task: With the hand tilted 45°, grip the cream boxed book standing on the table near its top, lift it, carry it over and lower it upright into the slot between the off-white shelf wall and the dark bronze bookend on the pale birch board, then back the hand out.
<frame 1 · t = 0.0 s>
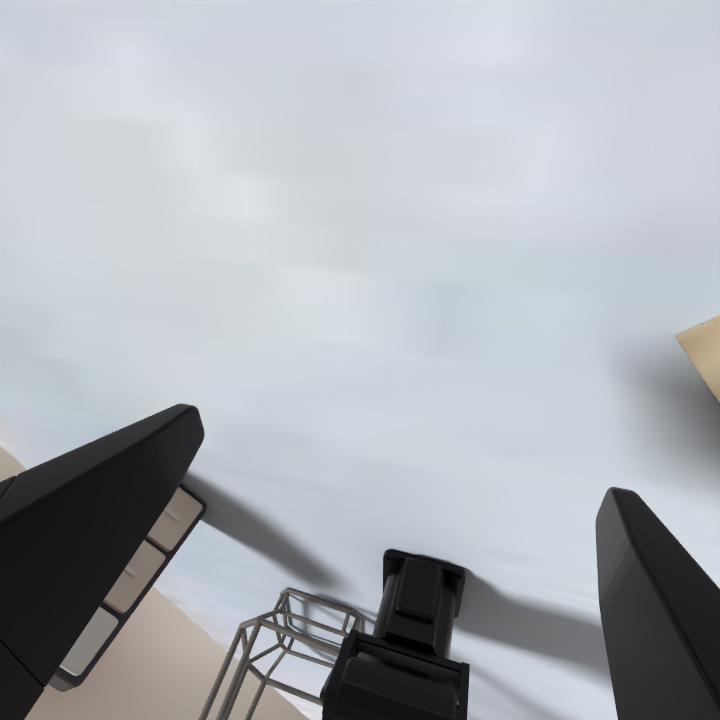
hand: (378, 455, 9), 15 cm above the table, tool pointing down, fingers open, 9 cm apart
geometric lantern: (321, 618, 46), on the table
red and beige box: (157, 474, 40), on the table
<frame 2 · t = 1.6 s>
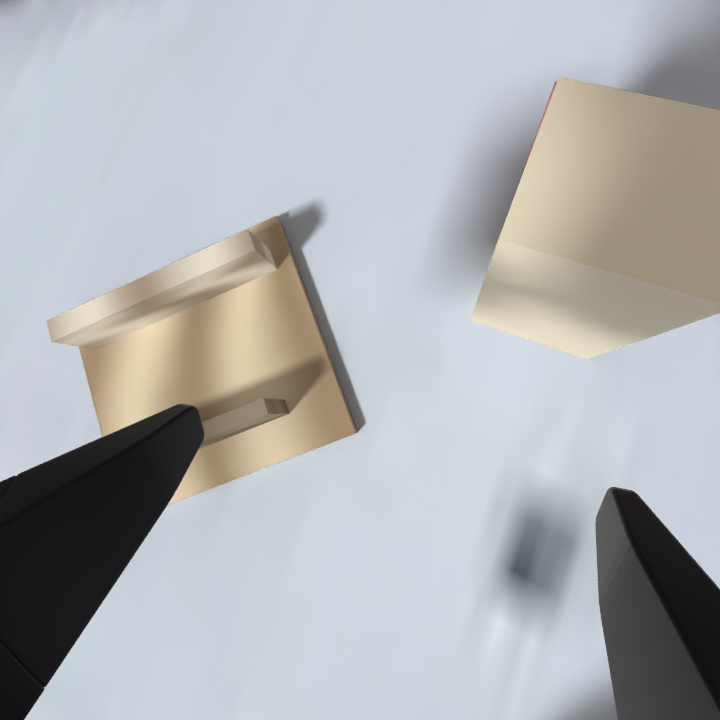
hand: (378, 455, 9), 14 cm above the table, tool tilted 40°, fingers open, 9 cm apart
shelf slot: (206, 367, 25), on the table
boxed book: (543, 293, 22), on the table
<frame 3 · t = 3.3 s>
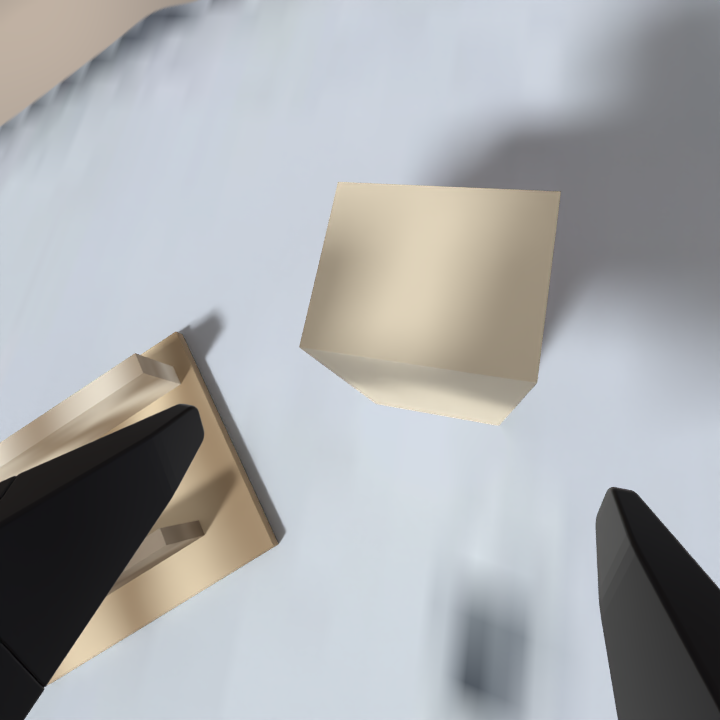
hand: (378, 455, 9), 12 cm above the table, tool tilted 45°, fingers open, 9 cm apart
shelf slot: (121, 497, 24), on the table
boxed book: (443, 365, 22), on the table
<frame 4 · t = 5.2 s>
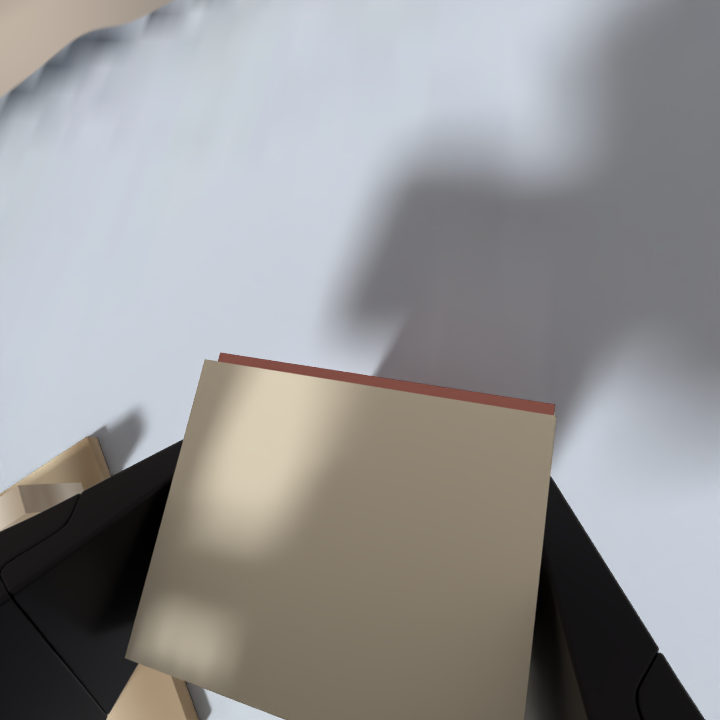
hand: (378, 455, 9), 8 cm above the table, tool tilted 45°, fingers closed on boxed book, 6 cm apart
shelf slot: (16, 647, 19), on the table
boxed book: (410, 495, 17), on the table, touching gripper
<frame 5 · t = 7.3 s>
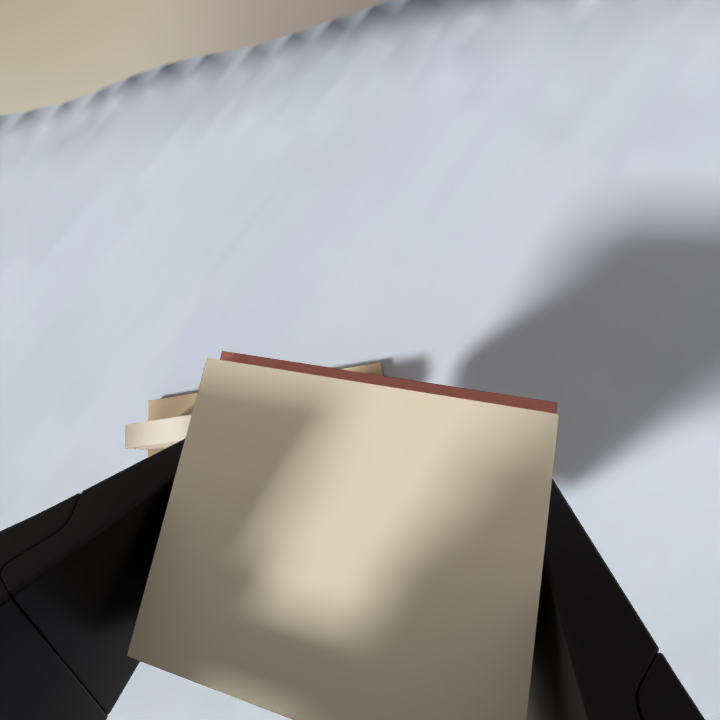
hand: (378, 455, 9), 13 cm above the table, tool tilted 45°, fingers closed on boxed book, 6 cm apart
shelf slot: (269, 502, 23), on the table
boxed book: (411, 495, 17), point 5 cm above the table, touching gripper
when the fingers open (10 cm above the table, at t = 9.4 s): boxed book stays where it is, resting on shelf slot.
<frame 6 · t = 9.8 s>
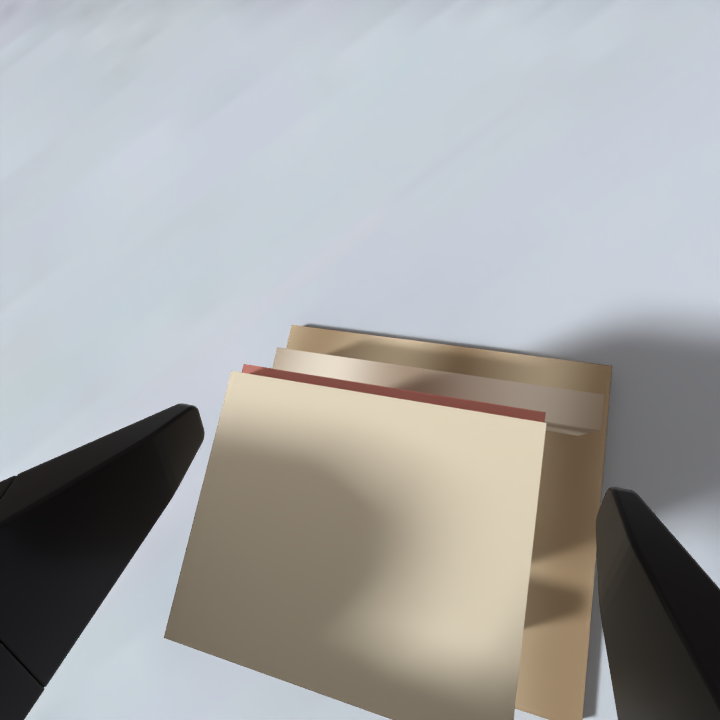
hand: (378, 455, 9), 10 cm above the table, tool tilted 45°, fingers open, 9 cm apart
shelf slot: (414, 492, 19), on the table
boxed book: (413, 494, 18), point 1 cm above the table, touching shelf slot
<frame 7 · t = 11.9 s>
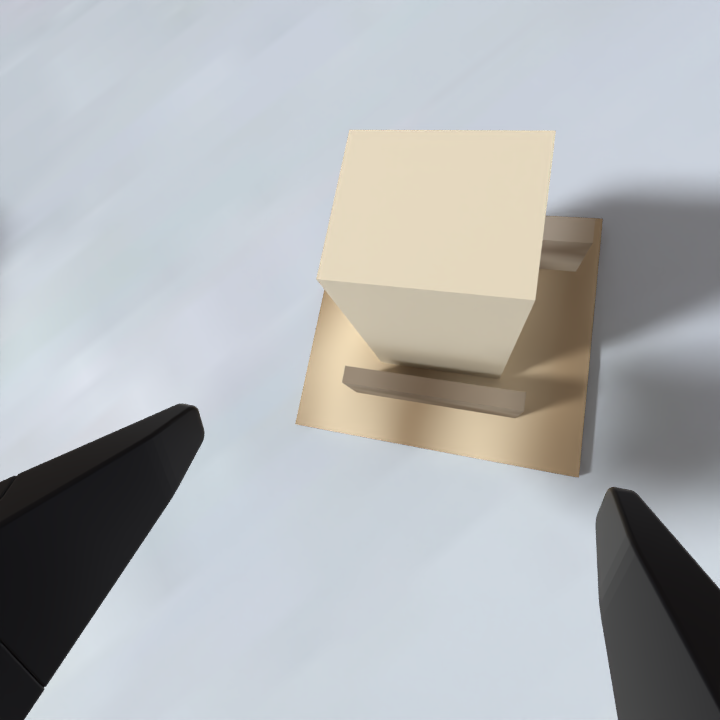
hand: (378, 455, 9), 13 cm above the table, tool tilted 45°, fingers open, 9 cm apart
shelf slot: (445, 327, 23), on the table
boxed book: (445, 324, 23), point 1 cm above the table, touching shelf slot
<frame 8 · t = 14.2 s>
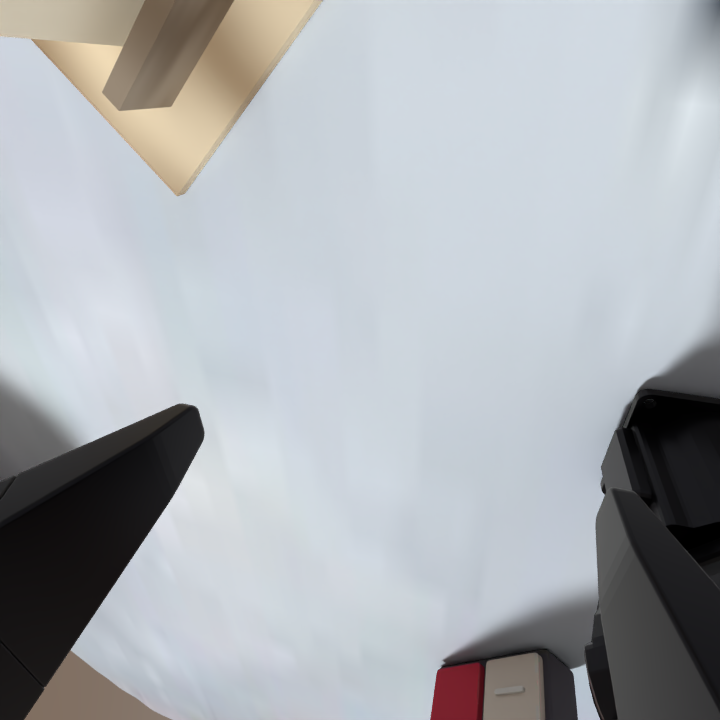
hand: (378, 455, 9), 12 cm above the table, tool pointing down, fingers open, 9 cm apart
red and beige box: (499, 664, 35), on the table
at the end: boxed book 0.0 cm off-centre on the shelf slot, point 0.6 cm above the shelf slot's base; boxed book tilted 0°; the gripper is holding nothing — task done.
